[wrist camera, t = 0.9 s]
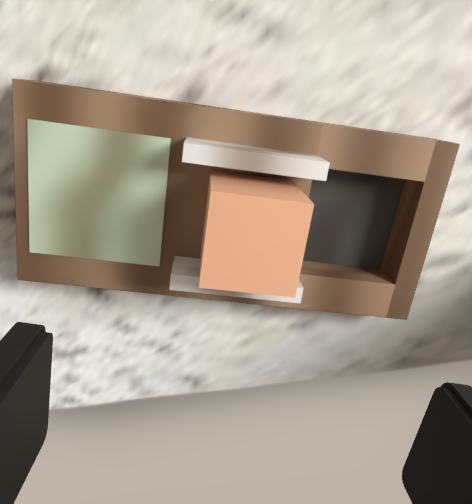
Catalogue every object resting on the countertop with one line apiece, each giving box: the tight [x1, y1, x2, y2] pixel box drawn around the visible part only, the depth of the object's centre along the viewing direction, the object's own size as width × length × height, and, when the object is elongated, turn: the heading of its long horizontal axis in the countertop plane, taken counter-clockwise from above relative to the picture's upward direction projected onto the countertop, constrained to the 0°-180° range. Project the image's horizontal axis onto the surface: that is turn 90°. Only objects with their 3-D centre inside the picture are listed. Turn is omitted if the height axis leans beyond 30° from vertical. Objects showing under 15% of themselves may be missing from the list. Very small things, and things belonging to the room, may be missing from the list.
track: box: [12, 79, 460, 320], centre depth 27 cm, size 26×12×6 cm, turn 82°
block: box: [199, 170, 314, 298], centre depth 25 cm, size 5×5×6 cm
